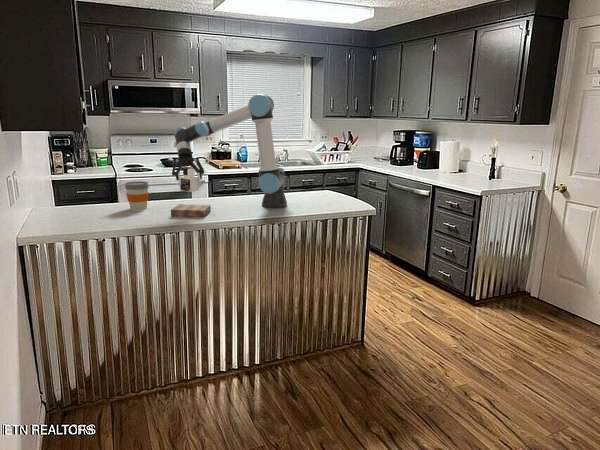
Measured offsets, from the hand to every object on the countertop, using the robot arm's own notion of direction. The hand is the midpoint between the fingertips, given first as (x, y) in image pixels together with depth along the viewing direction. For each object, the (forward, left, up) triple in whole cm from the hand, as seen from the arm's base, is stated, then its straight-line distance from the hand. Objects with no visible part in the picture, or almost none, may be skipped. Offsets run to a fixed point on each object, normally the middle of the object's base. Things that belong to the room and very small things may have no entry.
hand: (190, 184), depth 235 cm
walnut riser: (+1, -3, -17) cm, 18 cm away
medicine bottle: (+1, -3, -4) cm, 5 cm away
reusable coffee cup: (+35, -14, -18) cm, 42 cm away
